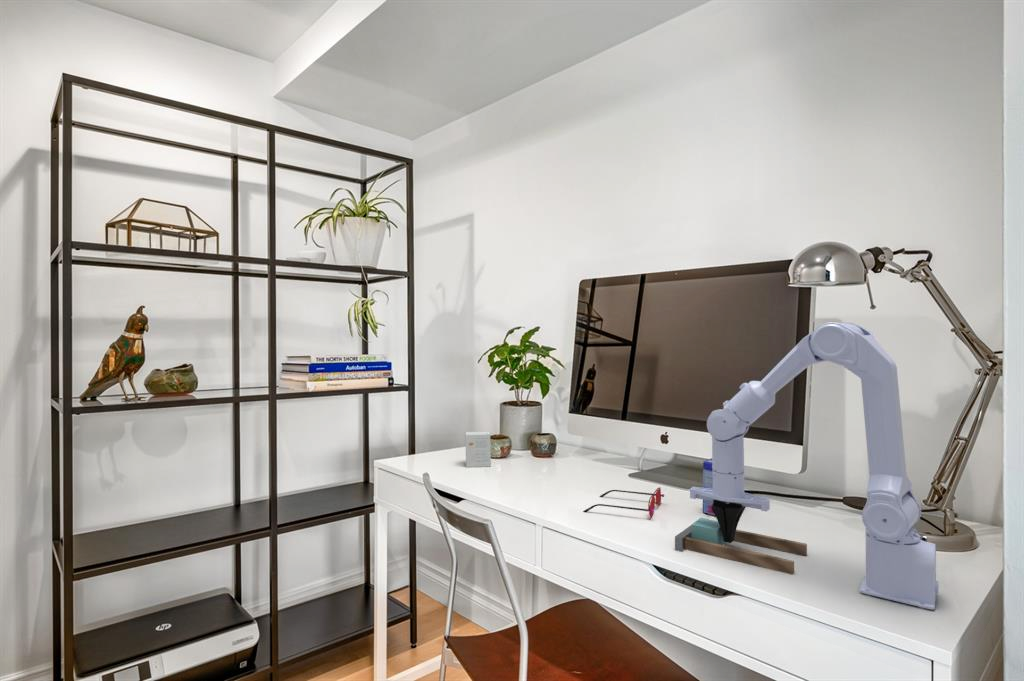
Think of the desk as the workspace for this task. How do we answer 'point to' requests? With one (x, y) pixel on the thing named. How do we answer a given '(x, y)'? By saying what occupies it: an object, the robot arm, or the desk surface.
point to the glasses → (650, 508)
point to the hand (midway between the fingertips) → (728, 541)
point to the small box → (478, 449)
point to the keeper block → (707, 531)
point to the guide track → (750, 556)
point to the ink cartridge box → (707, 485)
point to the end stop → (682, 539)
